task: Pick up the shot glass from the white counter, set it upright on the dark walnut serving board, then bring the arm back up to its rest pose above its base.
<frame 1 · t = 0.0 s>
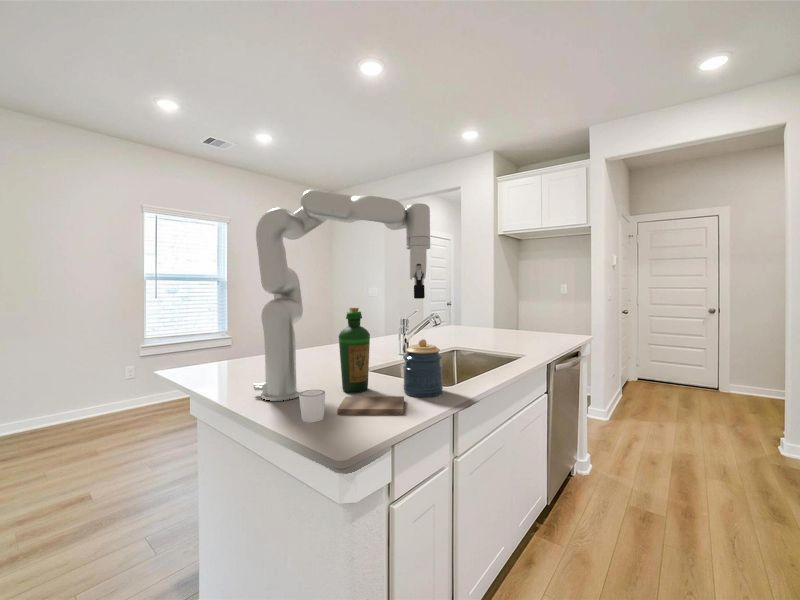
hand: (419, 298, 118), 31 cm above the counter, tool pointing down, fingers open, 9 cm apart
canister: (423, 392, 123), on the counter
walnut board: (372, 407, 107), on the counter
bottle: (355, 390, 127), on the counter
shot glass: (312, 419, 99), on the counter
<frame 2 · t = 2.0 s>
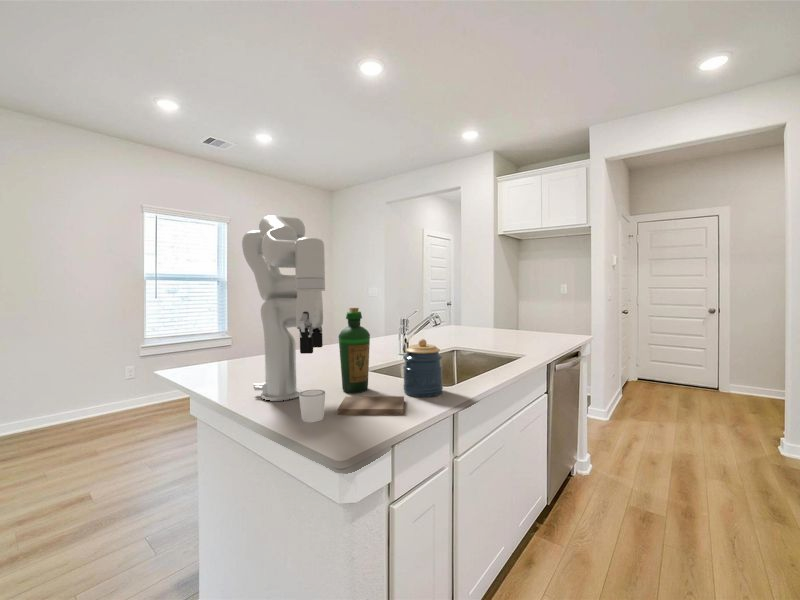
hand: (311, 350, 98), 18 cm above the counter, tool pointing down, fingers open, 9 cm apart
nothing on the counter moved.
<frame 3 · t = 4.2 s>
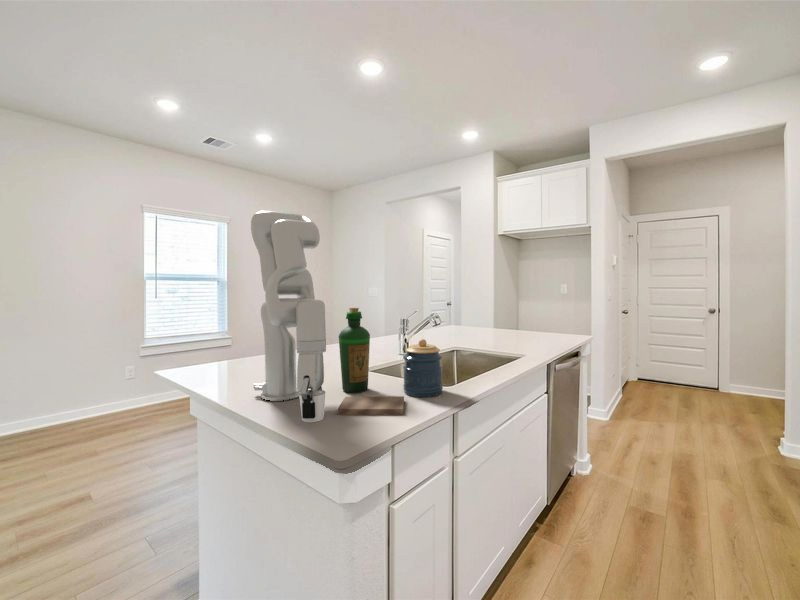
hand: (312, 412, 99), 2 cm above the counter, tool pointing down, fingers closed on shot glass, 6 cm apart
shot glass: (312, 419, 99), on the counter, touching gripper
everything else where it was.
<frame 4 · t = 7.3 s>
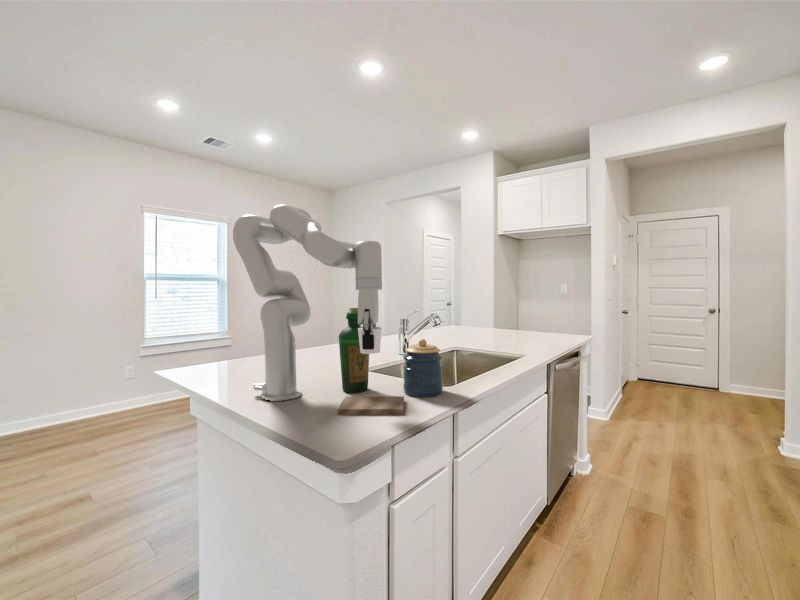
hand: (370, 346, 107), 18 cm above the counter, tool pointing down, fingers closed on shot glass, 6 cm apart
shot glass: (370, 352, 107), point 16 cm above the counter, touching gripper
everything else where it was.
when the fingers open (4 cm above the counter, at t = 10.5 s): shot glass stays where it is, resting on walnut board.
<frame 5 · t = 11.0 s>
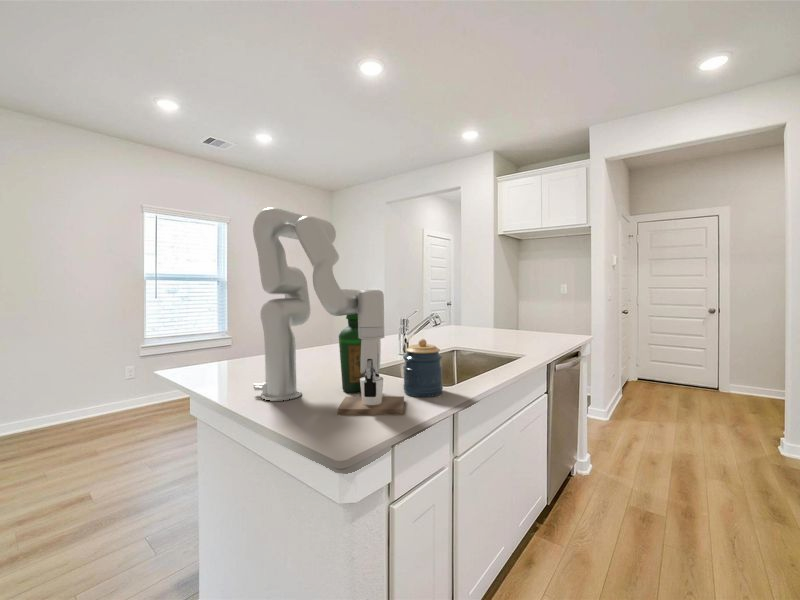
hand: (372, 391, 107), 5 cm above the counter, tool pointing down, fingers open, 9 cm apart
shot glass: (371, 403, 107), point 1 cm above the counter, touching walnut board
everything else where it was.
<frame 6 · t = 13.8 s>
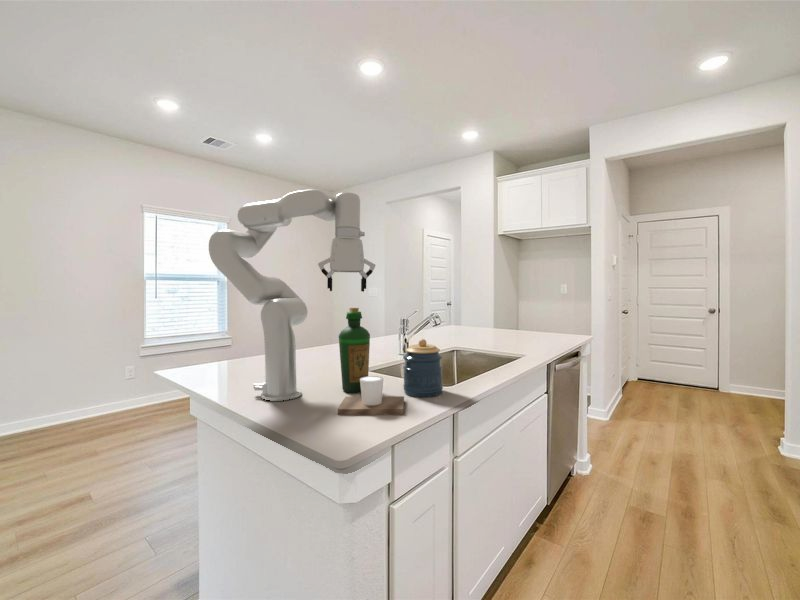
hand: (346, 291, 114), 34 cm above the counter, tool pointing down, fingers open, 9 cm apart
nothing on the counter moved.
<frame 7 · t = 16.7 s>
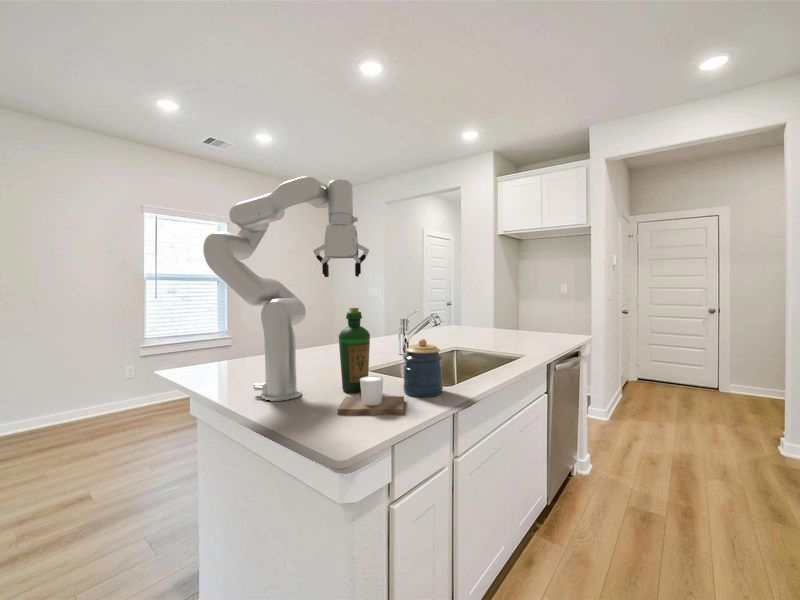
hand: (341, 276, 116), 38 cm above the counter, tool pointing down, fingers open, 9 cm apart
nothing on the counter moved.
at the end: shot glass 0.2 cm from the walnut board (horizontally); shot glass point 1.3 cm above the counter; shot glass tilted 0° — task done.
